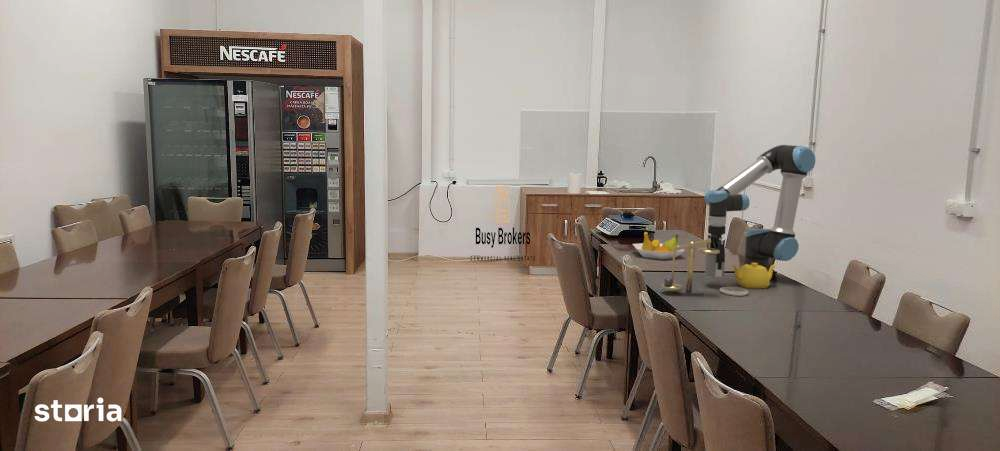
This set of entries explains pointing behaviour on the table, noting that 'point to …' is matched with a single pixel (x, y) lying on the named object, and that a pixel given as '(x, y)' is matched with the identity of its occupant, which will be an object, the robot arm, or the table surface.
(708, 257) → the cup
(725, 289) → the dish
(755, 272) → the teapot
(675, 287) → the balance
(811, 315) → the table surface
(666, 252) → the fruit
